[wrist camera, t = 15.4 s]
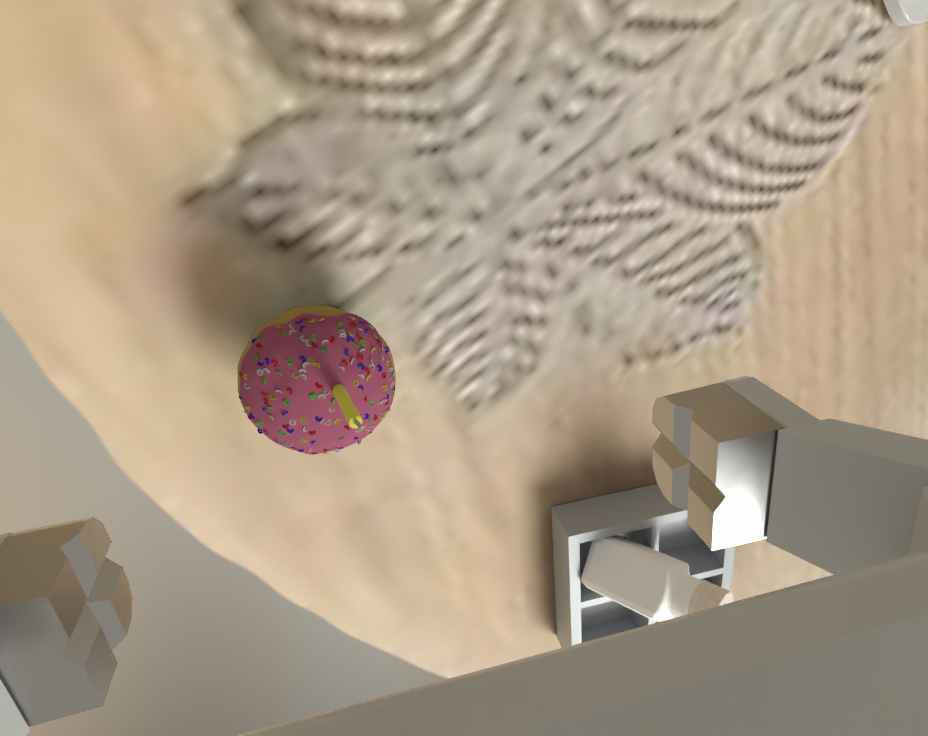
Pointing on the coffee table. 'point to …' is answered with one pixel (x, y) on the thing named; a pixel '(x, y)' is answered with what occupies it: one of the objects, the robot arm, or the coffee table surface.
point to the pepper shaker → (648, 580)
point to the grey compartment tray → (638, 520)
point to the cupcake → (316, 379)
